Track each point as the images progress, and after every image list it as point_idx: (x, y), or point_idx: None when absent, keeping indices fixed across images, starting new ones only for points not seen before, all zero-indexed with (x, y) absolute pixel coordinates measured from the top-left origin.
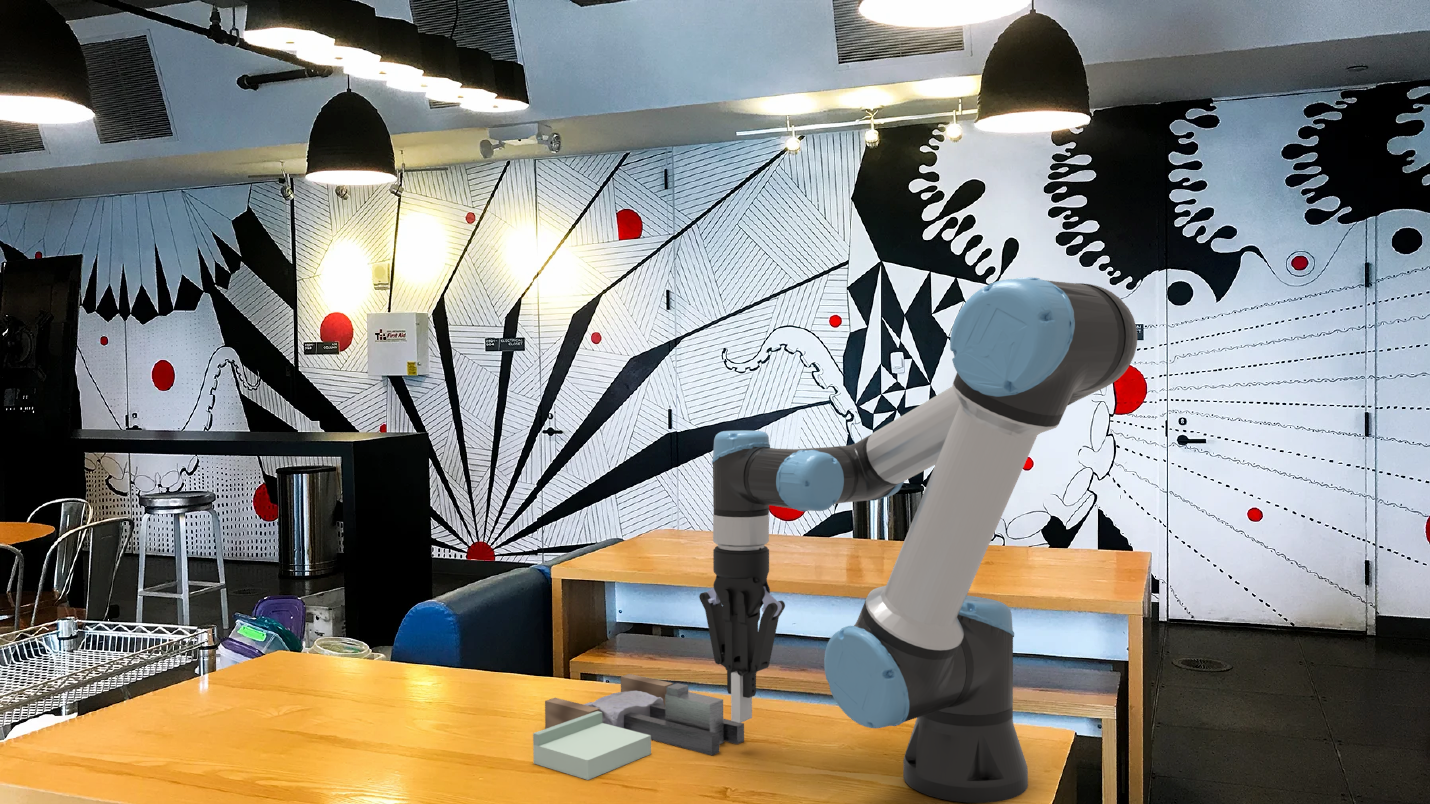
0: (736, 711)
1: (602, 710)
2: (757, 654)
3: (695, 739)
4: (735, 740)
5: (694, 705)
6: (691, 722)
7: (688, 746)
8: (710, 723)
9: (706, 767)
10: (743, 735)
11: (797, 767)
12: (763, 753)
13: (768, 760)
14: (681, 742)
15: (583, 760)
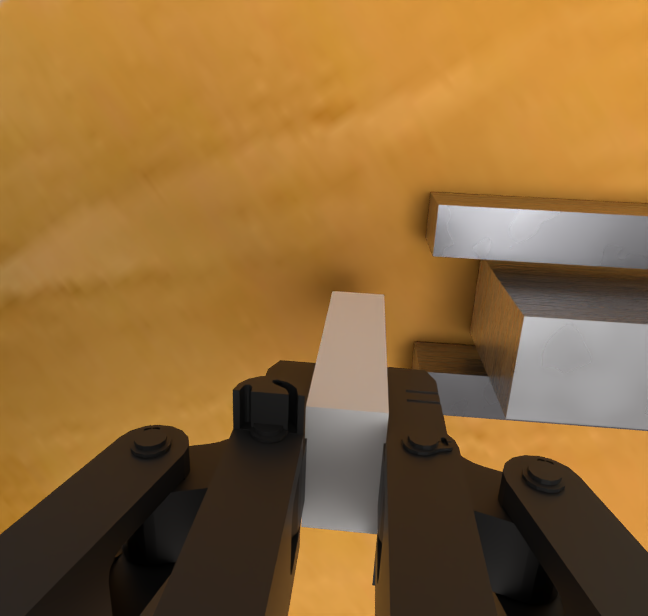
0: (350, 309)
1: None
2: (65, 520)
3: (527, 204)
4: (423, 347)
5: (623, 314)
6: (608, 286)
7: (555, 200)
8: (501, 288)
9: (377, 66)
10: None
11: (110, 260)
12: (284, 314)
13: (229, 264)
14: (598, 204)
15: None
